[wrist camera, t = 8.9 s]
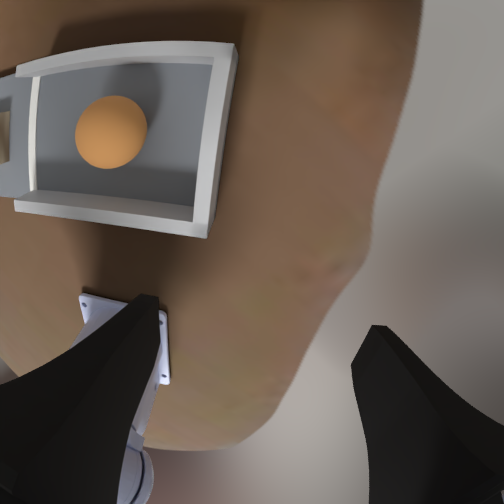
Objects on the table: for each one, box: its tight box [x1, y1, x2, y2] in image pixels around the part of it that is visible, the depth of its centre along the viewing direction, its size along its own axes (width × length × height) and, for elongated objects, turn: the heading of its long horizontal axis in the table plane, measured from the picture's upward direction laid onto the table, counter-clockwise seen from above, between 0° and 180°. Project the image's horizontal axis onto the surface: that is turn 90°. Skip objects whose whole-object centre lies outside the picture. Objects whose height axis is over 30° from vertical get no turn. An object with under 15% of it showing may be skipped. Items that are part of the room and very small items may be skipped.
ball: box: [75, 95, 147, 169], centre depth 13 cm, size 4×4×4 cm
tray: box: [0, 41, 239, 239], centre depth 14 cm, size 10×22×3 cm, turn 81°
